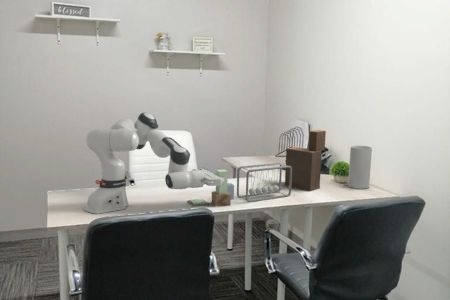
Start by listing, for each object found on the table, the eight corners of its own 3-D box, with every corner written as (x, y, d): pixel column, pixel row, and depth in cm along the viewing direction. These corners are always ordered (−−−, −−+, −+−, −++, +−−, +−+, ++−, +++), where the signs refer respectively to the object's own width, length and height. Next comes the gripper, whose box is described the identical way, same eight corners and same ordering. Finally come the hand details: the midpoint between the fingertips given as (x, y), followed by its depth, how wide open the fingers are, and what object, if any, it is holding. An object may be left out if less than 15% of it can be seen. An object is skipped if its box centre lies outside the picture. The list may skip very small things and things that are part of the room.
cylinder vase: (343, 185, 263) (346, 146, 259) (358, 183, 268) (361, 145, 264) (358, 190, 252) (361, 149, 248) (373, 188, 258) (376, 148, 253)
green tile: (192, 206, 214) (192, 204, 213) (187, 201, 222) (187, 199, 222) (209, 204, 217) (209, 202, 217) (202, 199, 225) (203, 197, 225)
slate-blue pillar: (226, 200, 226) (226, 185, 225) (223, 197, 230) (223, 183, 229) (233, 199, 228) (234, 185, 226) (230, 197, 232) (230, 183, 231)
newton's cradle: (246, 203, 221) (247, 170, 218) (236, 198, 230) (237, 166, 227) (291, 196, 236) (292, 165, 233) (280, 191, 245) (281, 162, 242)
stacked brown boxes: (323, 187, 257) (326, 130, 251) (310, 191, 247) (313, 132, 241) (297, 181, 270) (300, 127, 264) (284, 185, 260) (286, 129, 254)
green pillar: (219, 194, 215) (219, 171, 213) (215, 192, 219) (216, 169, 217) (227, 193, 217) (227, 171, 215) (223, 191, 221) (223, 169, 219)
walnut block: (215, 206, 214) (215, 195, 213) (211, 202, 222) (211, 191, 221) (230, 205, 217) (230, 194, 216) (225, 201, 224) (226, 190, 223)
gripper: (205, 177, 202) (231, 175, 207) (191, 168, 220) (215, 167, 226) (205, 189, 203) (231, 187, 208) (191, 180, 221) (215, 178, 227)
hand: (222, 176), depth 217 cm, fingers open, 8 cm apart
